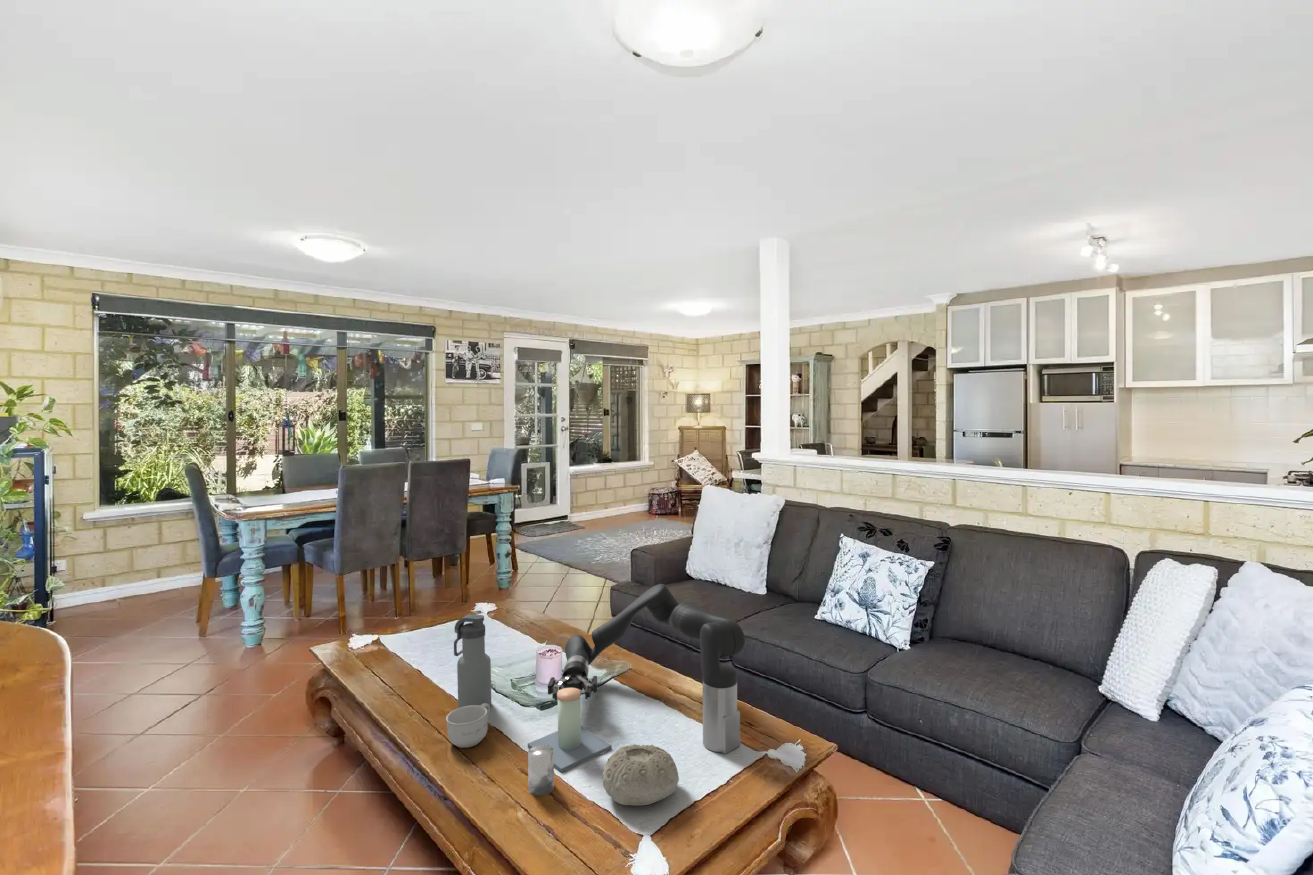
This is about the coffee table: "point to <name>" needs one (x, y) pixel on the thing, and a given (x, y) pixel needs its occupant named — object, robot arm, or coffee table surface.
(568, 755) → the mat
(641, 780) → the decorative shell
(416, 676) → the coffee table surface
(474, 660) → the water bottle
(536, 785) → the steel tin
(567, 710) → the sage tin
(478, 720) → the teacup
